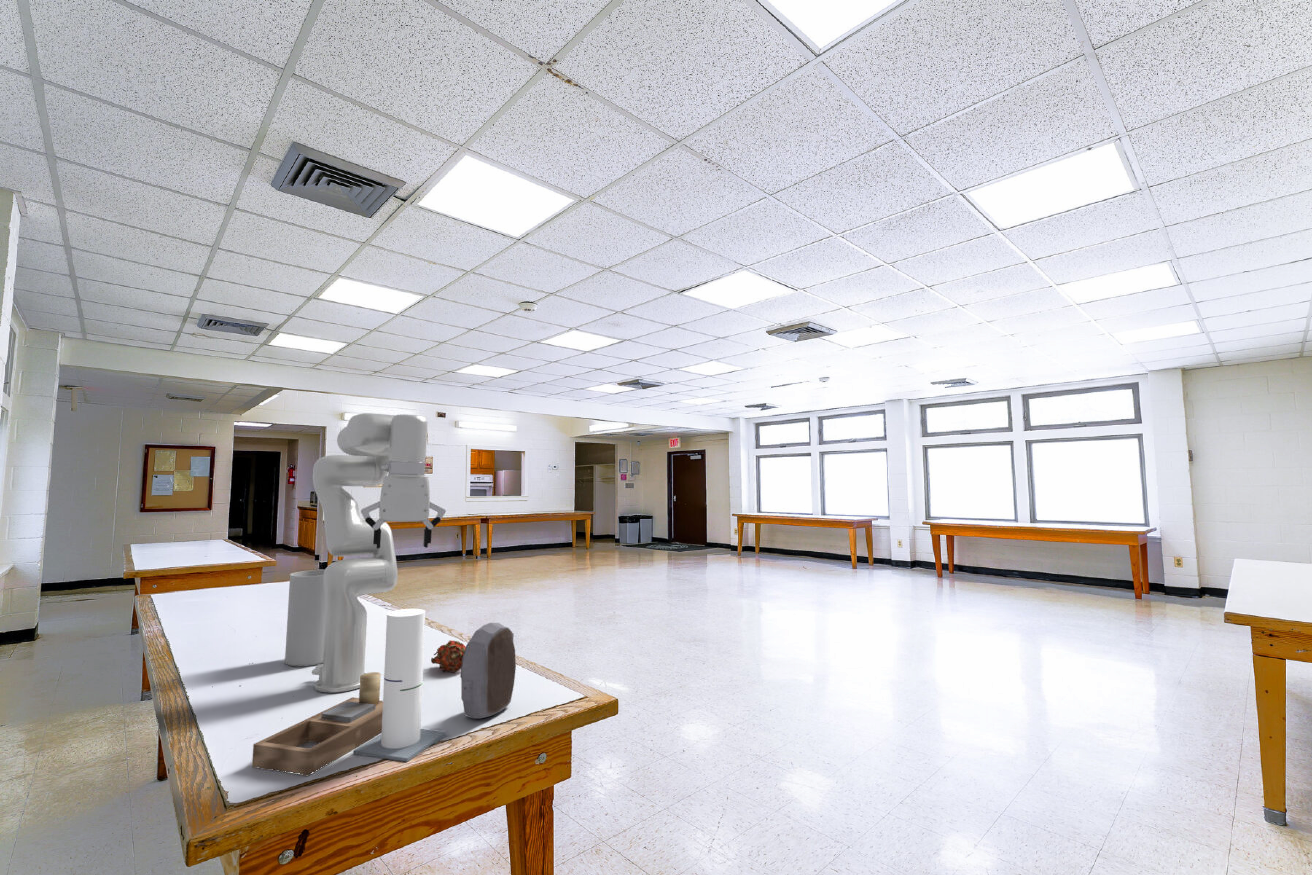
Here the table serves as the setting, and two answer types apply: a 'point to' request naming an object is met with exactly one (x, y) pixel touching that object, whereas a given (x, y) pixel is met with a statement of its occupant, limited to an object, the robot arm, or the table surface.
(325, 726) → the wooden divided tray
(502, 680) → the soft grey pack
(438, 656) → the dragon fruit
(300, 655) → the cylinder vase
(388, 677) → the cylindrical container
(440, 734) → the mat
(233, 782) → the table surface
